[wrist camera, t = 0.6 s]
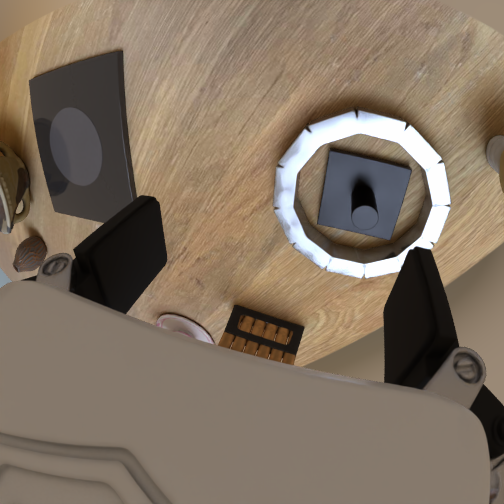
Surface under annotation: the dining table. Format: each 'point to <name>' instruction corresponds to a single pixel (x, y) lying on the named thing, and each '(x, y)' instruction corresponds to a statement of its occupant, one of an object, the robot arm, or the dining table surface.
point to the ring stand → (362, 193)
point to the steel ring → (343, 256)
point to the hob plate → (84, 137)
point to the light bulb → (496, 156)
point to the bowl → (12, 189)
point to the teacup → (183, 327)
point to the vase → (29, 254)
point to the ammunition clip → (255, 340)
